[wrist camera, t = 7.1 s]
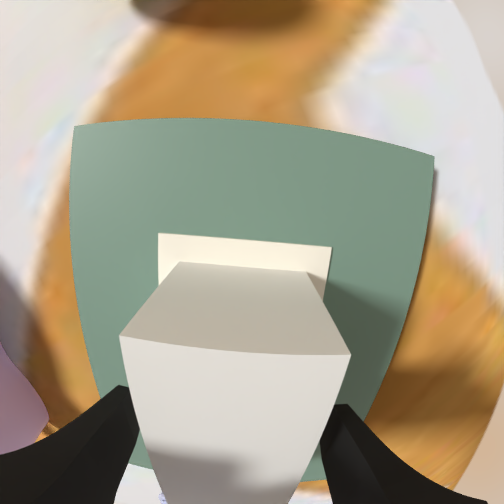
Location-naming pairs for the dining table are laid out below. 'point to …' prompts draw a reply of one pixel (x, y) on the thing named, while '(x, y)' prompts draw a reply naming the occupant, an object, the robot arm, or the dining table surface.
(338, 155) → the board
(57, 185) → the dining table surface
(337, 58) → the dining table surface
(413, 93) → the dining table surface
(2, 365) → the purple lobed piece
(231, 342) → the plug housing
